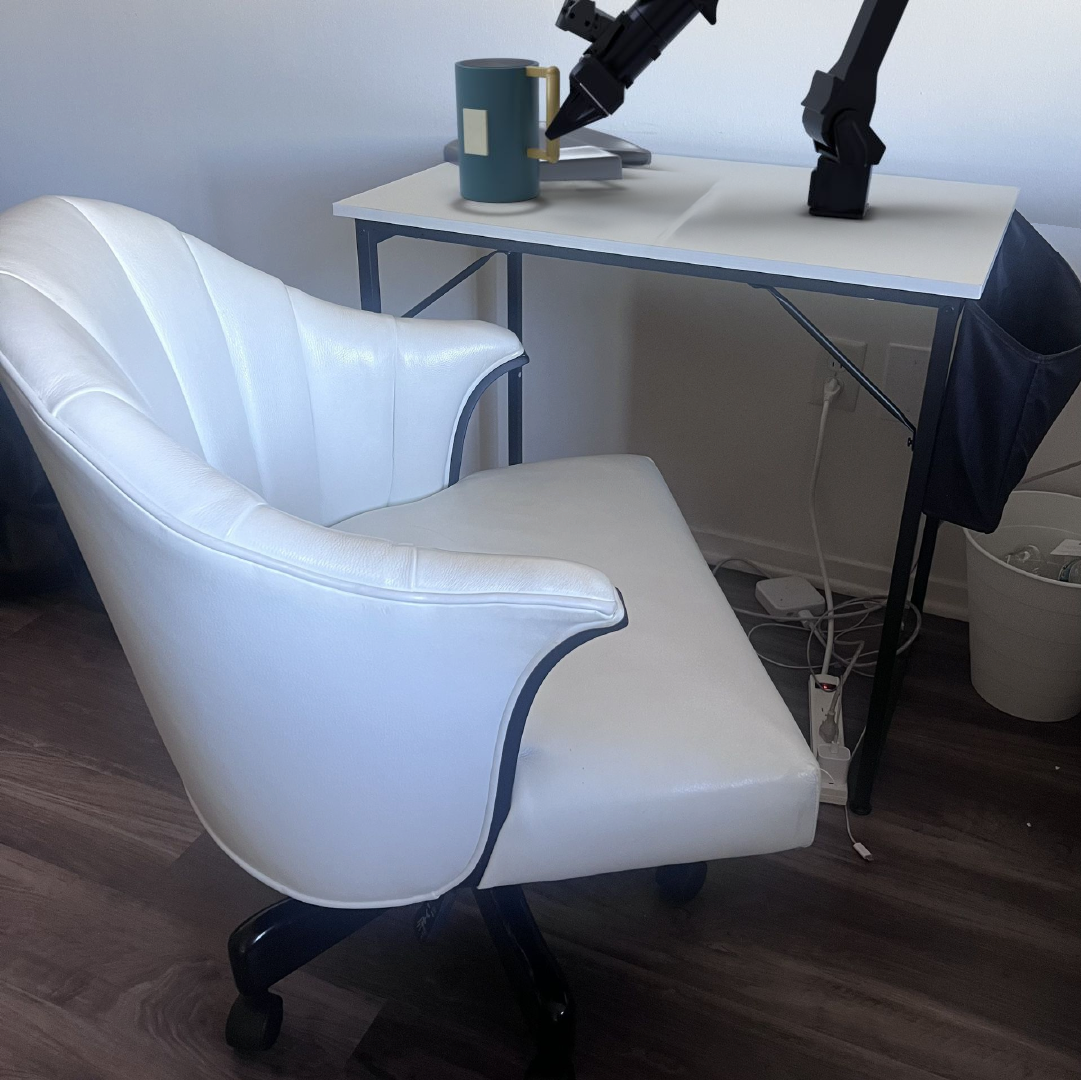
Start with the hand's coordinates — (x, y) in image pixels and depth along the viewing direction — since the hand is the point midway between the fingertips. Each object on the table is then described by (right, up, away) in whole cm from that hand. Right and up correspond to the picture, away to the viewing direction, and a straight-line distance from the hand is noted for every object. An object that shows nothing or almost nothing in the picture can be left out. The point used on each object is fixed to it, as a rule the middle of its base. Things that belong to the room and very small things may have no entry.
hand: (551, 130), depth 120 cm
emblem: (0, +5, +27) cm, 27 cm away
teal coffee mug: (-5, -5, +8) cm, 11 cm away
